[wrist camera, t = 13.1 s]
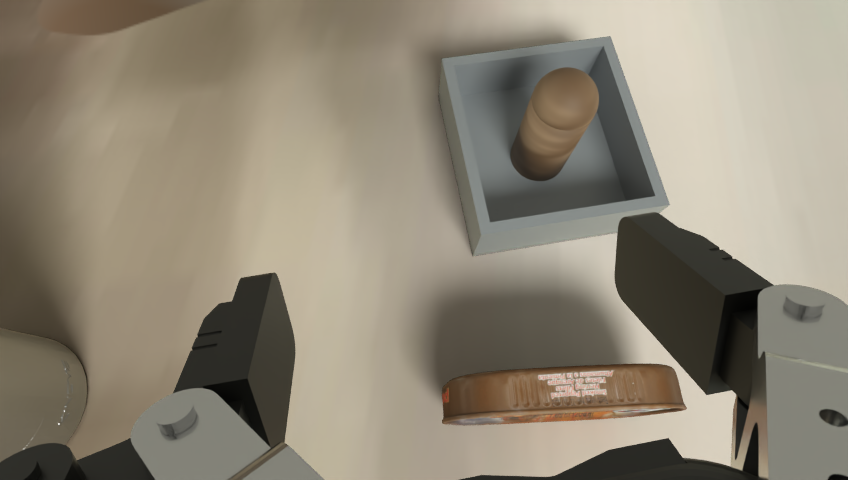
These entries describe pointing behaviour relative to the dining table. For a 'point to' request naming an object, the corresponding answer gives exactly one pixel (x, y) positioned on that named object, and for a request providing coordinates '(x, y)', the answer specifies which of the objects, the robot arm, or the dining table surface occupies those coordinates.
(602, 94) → the bin
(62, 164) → the dining table surface
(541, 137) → the pepper mill
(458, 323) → the dining table surface
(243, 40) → the dining table surface
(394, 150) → the dining table surface
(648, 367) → the tin
